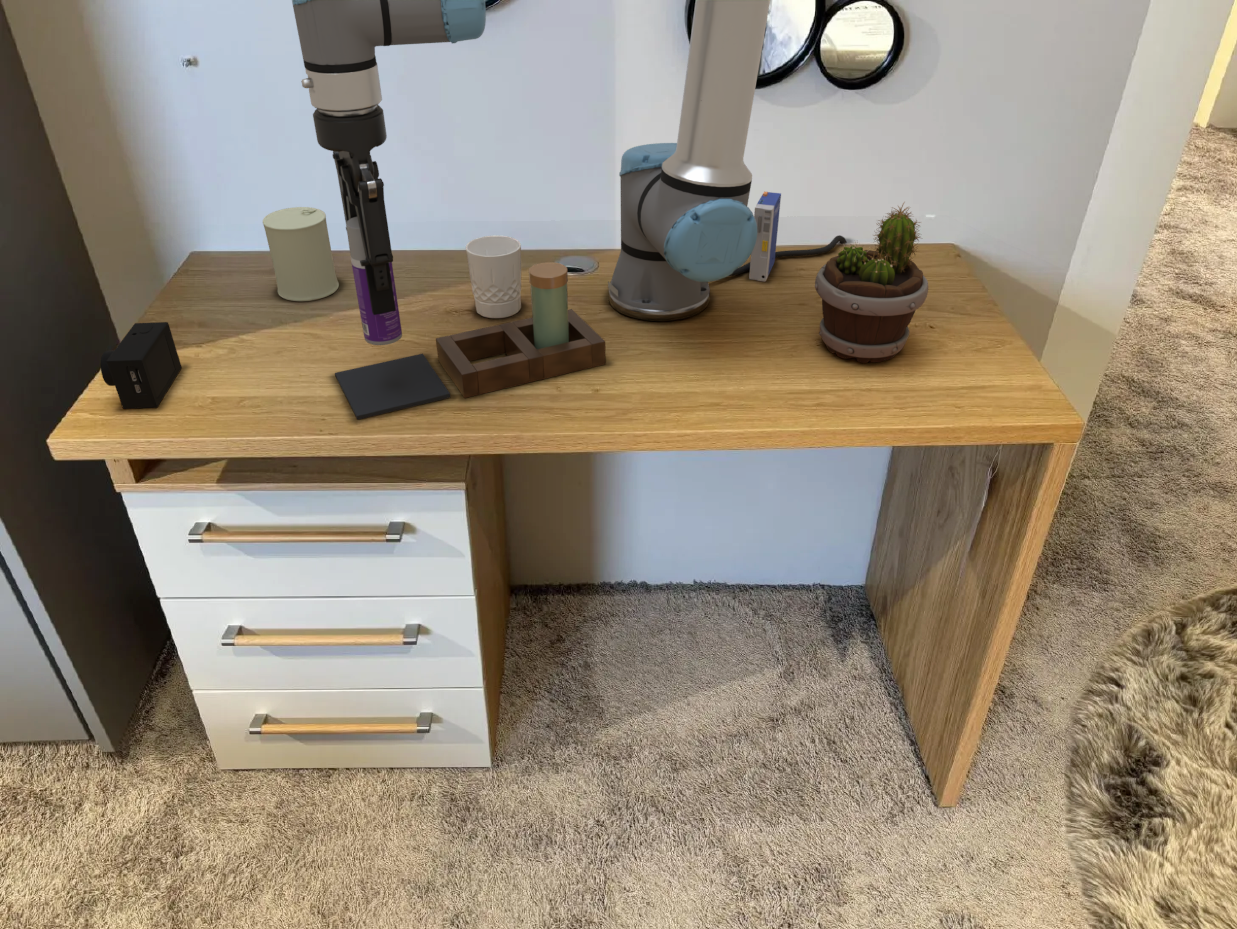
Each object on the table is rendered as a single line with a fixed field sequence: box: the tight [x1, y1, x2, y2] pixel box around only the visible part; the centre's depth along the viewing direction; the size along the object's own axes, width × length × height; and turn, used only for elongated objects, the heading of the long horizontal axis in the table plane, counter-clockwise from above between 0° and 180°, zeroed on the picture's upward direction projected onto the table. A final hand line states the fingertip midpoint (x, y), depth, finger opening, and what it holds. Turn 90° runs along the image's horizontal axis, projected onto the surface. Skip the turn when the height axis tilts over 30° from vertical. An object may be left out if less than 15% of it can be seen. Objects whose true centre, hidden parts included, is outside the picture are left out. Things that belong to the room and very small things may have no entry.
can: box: [262, 206, 340, 302], centre depth 146 cm, size 9×9×12 cm
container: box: [345, 217, 403, 346], centre depth 116 cm, size 5×5×15 cm
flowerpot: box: [814, 202, 929, 364], centre depth 127 cm, size 14×15×20 cm
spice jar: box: [528, 261, 569, 349], centre depth 128 cm, size 5×5×13 cm
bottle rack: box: [435, 308, 606, 399], centre depth 129 cm, size 20×11×4 cm, turn 116°
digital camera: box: [100, 321, 183, 410], centre depth 122 cm, size 10×5×7 cm, turn 4°
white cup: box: [465, 234, 522, 319], centre depth 140 cm, size 8×8×10 cm
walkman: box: [748, 191, 782, 282], centre depth 151 cm, size 8×3×12 cm, turn 162°
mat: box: [334, 353, 451, 420], centre depth 124 cm, size 12×12×1 cm
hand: (378, 302), depth 118 cm, fingers closed on container, 5 cm apart
